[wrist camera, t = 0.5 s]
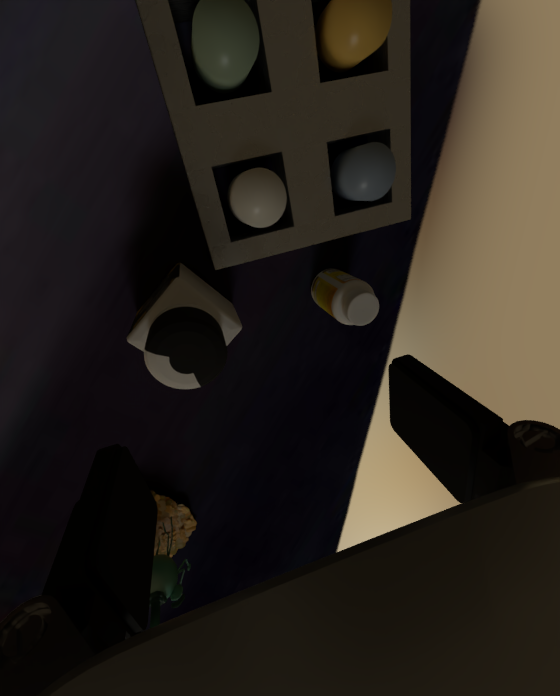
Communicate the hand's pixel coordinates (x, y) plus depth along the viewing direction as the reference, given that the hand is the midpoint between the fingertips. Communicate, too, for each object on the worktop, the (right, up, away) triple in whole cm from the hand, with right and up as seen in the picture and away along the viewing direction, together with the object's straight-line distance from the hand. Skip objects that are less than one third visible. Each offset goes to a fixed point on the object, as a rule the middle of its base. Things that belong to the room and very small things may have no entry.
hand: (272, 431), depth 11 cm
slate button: (+7, +19, +20) cm, 29 cm away
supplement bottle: (+6, +10, +26) cm, 29 cm away
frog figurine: (-17, -21, +35) cm, 44 cm away
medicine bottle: (-10, +7, +23) cm, 26 cm away
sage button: (-4, +25, +14) cm, 29 cm away
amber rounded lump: (+5, +28, +15) cm, 32 cm away
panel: (+1, +23, +18) cm, 30 cm away
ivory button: (-2, +17, +18) cm, 25 cm away
